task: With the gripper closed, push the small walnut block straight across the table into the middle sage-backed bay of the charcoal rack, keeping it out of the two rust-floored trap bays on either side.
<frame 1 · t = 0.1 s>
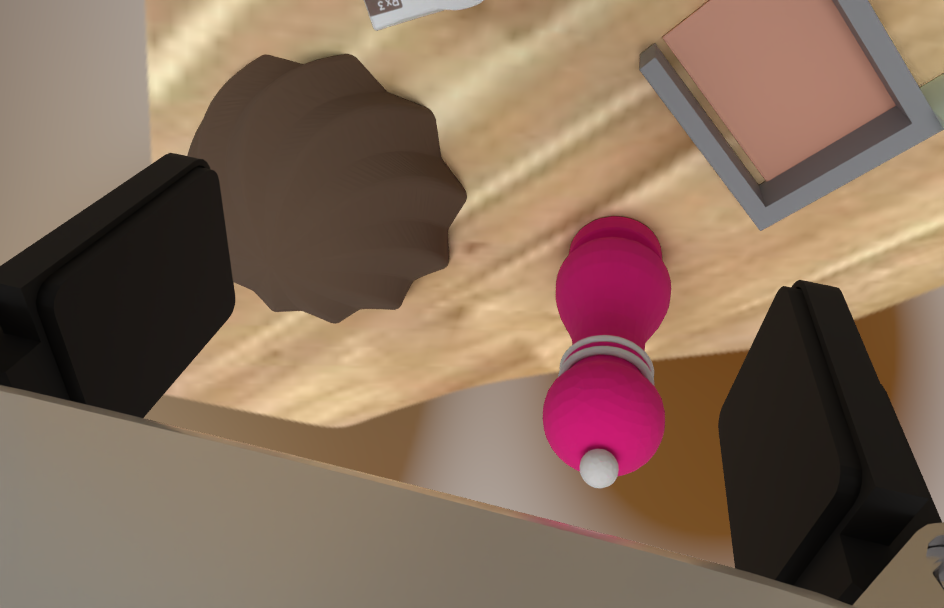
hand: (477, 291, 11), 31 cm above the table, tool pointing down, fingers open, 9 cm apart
pepper mill: (614, 253, 46), on the table
decorative dome: (334, 188, 48), on the table
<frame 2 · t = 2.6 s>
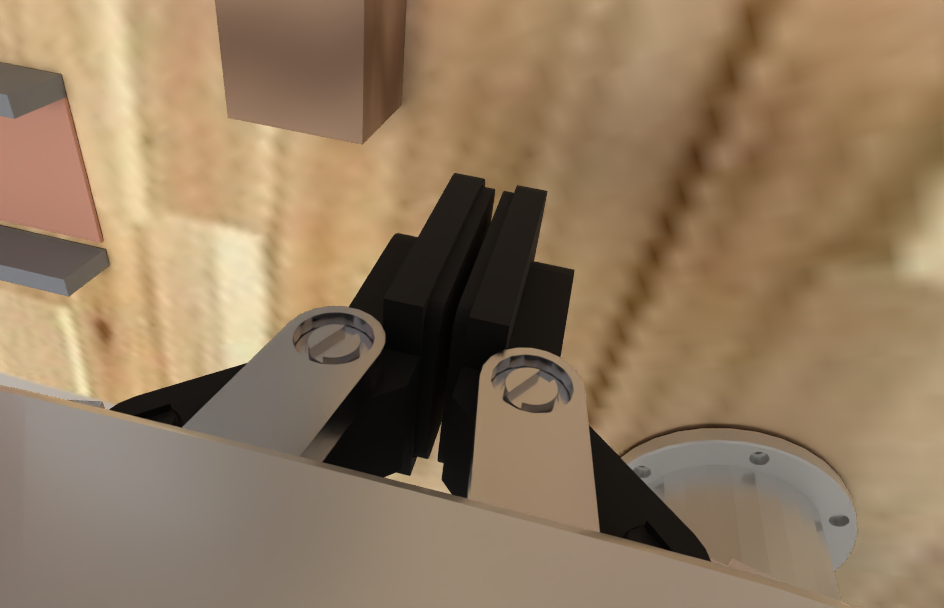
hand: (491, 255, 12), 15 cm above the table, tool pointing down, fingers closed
walnut block: (342, 27, 25), on the table
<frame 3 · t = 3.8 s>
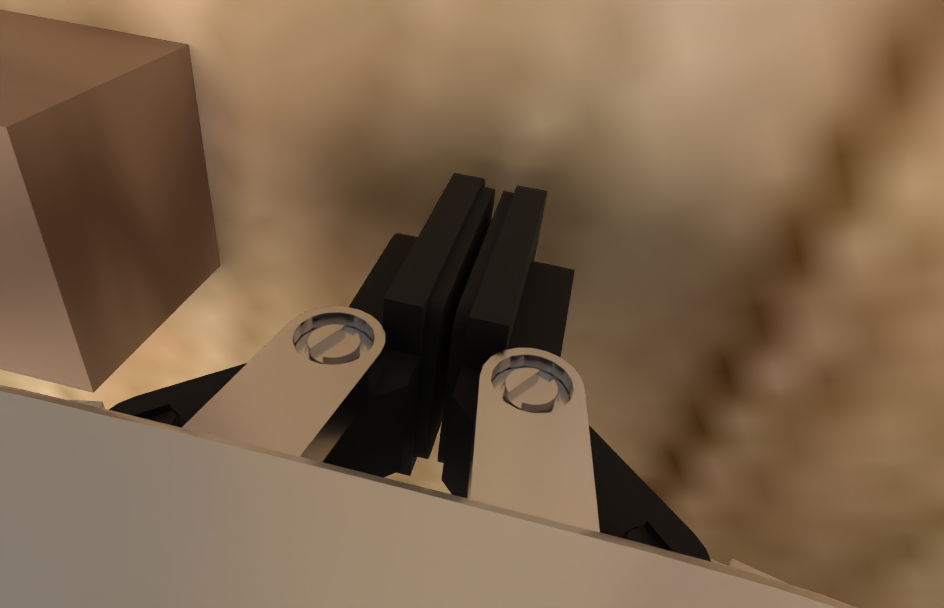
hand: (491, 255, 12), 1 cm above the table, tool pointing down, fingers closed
walnut block: (101, 142, 14), on the table
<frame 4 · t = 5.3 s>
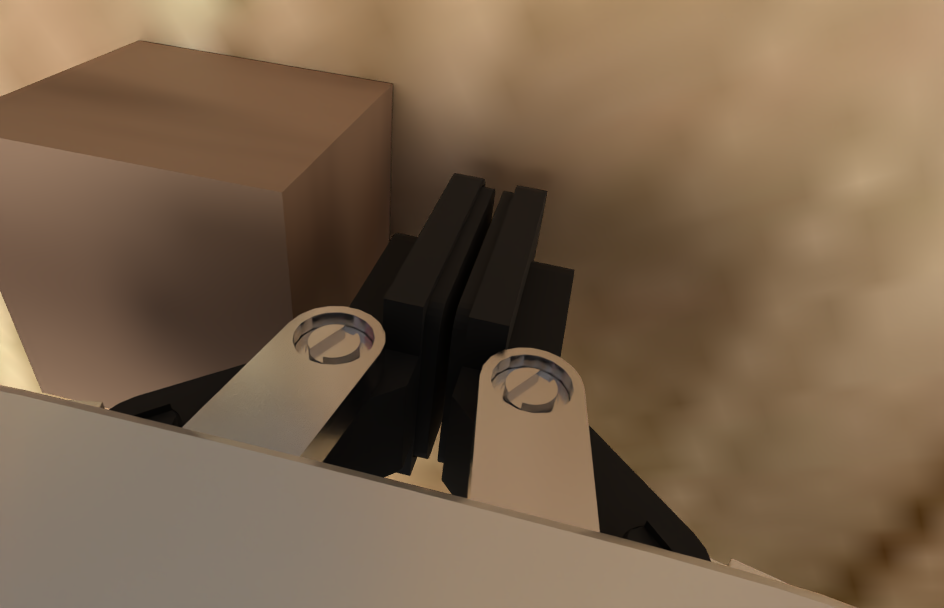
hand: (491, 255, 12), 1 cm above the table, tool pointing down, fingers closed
walnut block: (274, 184, 14), on the table, touching gripper
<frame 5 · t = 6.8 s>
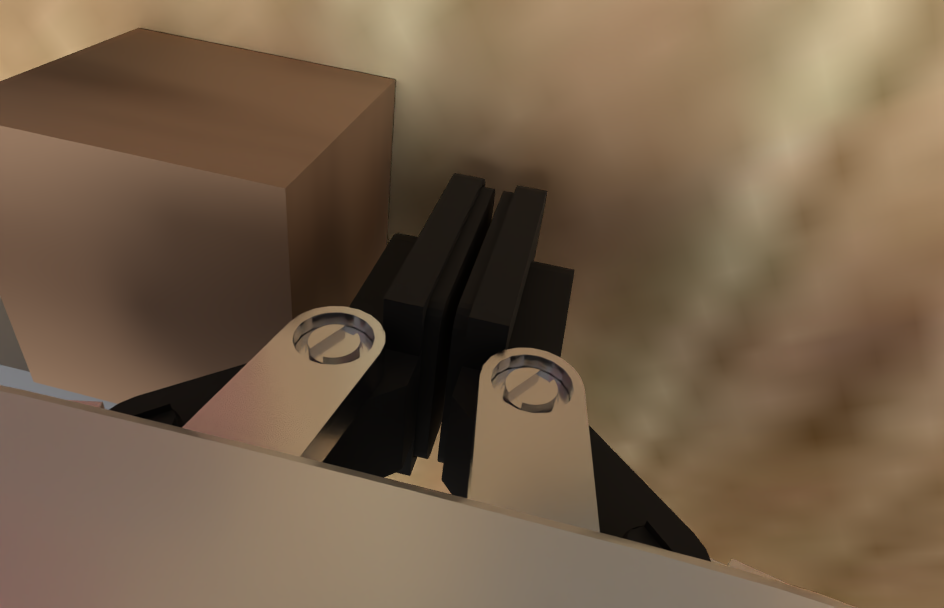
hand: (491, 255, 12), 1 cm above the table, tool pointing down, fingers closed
walnut block: (272, 177, 13), on the table, touching gripper
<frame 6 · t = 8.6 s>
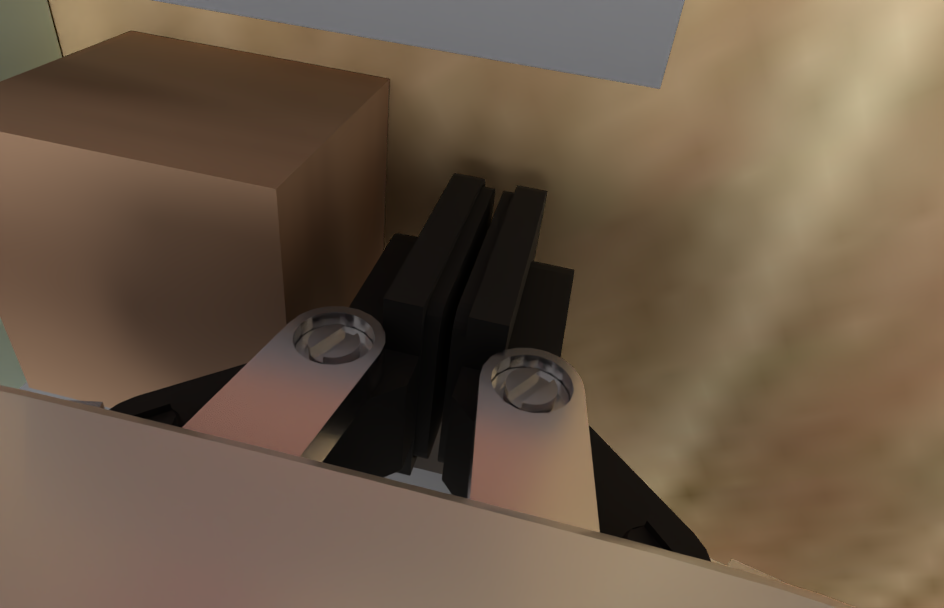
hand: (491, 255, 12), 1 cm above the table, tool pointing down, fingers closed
walnut block: (267, 179, 13), resting in bay rack, touching gripper
bay rack: (304, 186, 13), on the table
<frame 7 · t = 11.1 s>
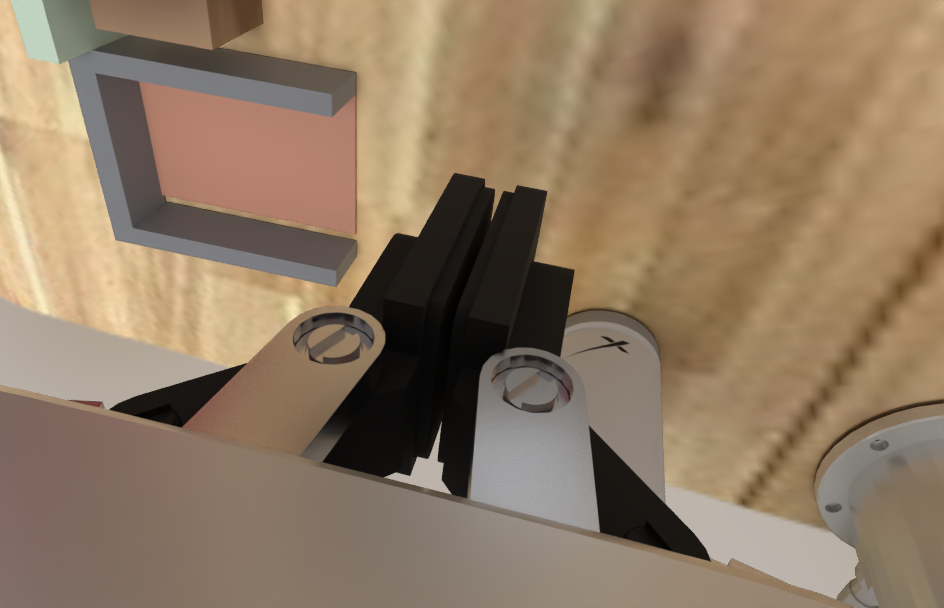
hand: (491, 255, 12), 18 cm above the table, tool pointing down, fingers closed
travel mug: (599, 349, 36), on the table
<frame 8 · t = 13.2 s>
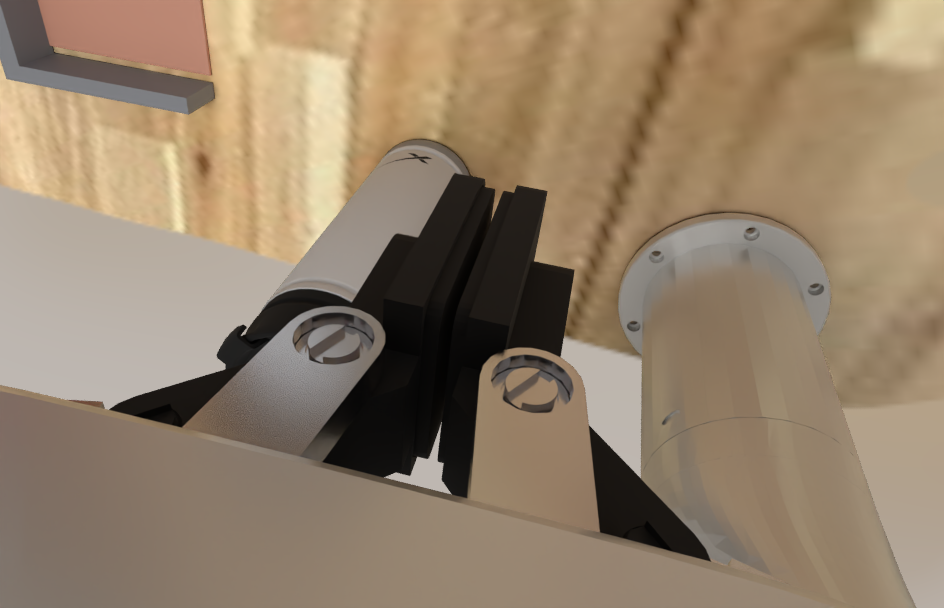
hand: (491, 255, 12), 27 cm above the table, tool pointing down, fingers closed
travel mug: (424, 181, 42), on the table
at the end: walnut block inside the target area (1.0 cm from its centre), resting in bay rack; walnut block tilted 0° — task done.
